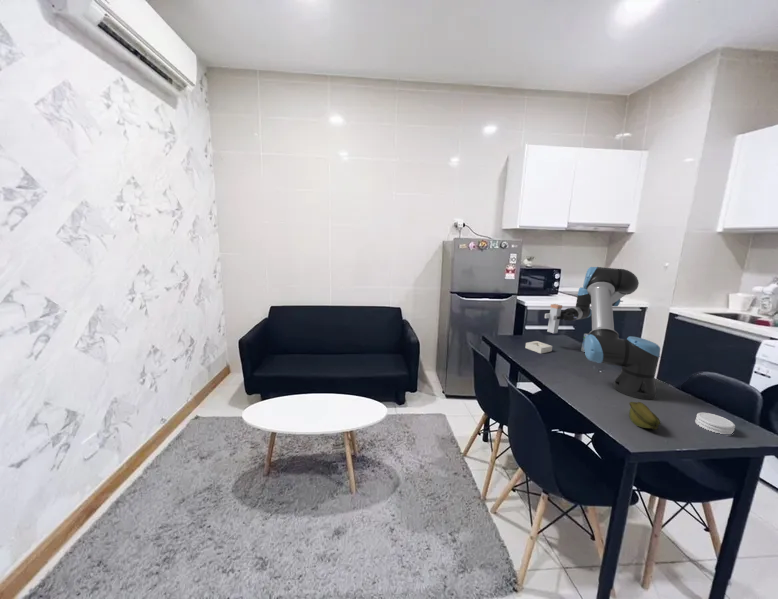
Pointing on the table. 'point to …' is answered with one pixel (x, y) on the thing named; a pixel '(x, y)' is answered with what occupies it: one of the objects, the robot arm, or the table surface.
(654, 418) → the fruit
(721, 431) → the white ridged lid
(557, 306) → the plug
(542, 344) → the white square base
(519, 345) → the table surface
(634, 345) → the robot arm
